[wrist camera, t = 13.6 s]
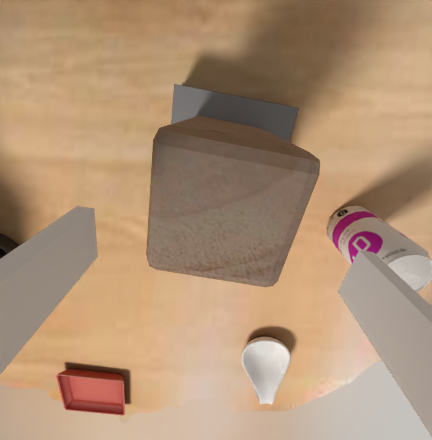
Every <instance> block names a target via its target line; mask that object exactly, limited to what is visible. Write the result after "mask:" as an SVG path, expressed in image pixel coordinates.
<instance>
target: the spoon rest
mask: <svg viewBox="0 0 432 440" xmlns="http://www.w3.org/2000/svg"><path fill="white" fill-rule="evenodd" d="M241 360H242V364H243V367H244V369H245V371H246V373H247V375H248V377H249V378H250V380H251V382H252V384H253V385H254V387H255V392H256V396H257V399H258V401H259V403H260V404H263V403H269V404H272V403H273V401H274V398H275V394H276V392H277V389H278V387H279V385H280V383H281V381H282V379H283V377H284V375H285V373H286V371H287V368H288V366H289V363H290V352H289V350H288V348H287V347H286V346H285V345H284V344H283V343H282V342H280V341H279V340H277V339H275V338H271V337H258V338H255V339H253V340H251V341H250V342H248V343H247V345H246V346H245V347H244V349H243V351H242V355H241Z"/></svg>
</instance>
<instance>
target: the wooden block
mask: <svg viewBox="0 0 432 440" xmlns="http://www.w3.org/2000/svg"><path fill="white" fill-rule="evenodd" d="M319 170H320V161H319V159H318V158H316V157H315V156H314V155H312V154H311V153H310V152H308V151H306V150H304V149H302V148H300V147H298V146H296V145H294V144H292V143H290V142H288V141H286V140H284V139H282V138H280V137H278V136H276V135H274V134H272V133H270V132H268V131H266V130H264V129H262V128H258V127H253V126H248V125H243V124H238V123H233V122H228V121H223V120H218V119H213V118H209V117H204V116H197V117H193V118H190V119H187V120H183V121H180V122H177V123H174V124H171V125H167V126H164V127H161V128H159V130H158V132H157V134H156V136H155V138H154V140H153V153H152V169H151V186H150V202H149V218H148V235H147V251H146V254H147V260H148V263H149V266H151V267H153V268H155V269H157V270H162V271H168V272H174V273H181V274H187V275H193V276H199V277H205V278H212V279H218V280H224V281H230V282H236V283H242V284H249V285H255V286H261V287H269V286H273V285H274V284H275V283H276V282H277V281H278V279H279V276H280V274H281V271H282V268H283V266H284V263H285V261H286V258H287V256H288V253H289V251H290V248H291V245H292V243H293V240H294V238H295V235H296V233H297V230H298V228H299V225H300V222H301V220H302V217H303V215H304V212H305V210H306V207H307V204H308V202H309V199H310V197H311V194H312V192H313V189H314V187H315V184H316V181H317V179H318V176H319Z"/></svg>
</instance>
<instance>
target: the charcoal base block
mask: <svg viewBox="0 0 432 440" xmlns="http://www.w3.org/2000/svg"><path fill="white" fill-rule="evenodd" d="M298 110H299V108H296V107H291V106H286V105H281V104H275V103H270V102H265V101H260V100H255V99H249V98H244V97H239V96H234V95H229V94H223V93H218V92H213V91H208V90H203V89H198V88H192V87H187V86H182V85H177V84H174V94H173V107H172V120H171V124H174V123H177V122H180V121H183V120H187V119H190V118H193V117H197V116H204V117H209V118H213V119H218V120H223V121H228V122H233V123H238V124H243V125H248V126H253V127H258V128H262V129H264V130H266V131H268V132H270V133H272V134H274V135H276V136H278V137H280V138H282V139H284V140H286V141H288V142H289V140H290V137H291V133H292V130H293V127H294V123H295V120H296V116H297V113H298Z"/></svg>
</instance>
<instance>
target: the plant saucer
mask: <svg viewBox="0 0 432 440" xmlns="http://www.w3.org/2000/svg"><path fill="white" fill-rule="evenodd" d="M56 377H57V381H58V385H59V389H60V393H61V397H62V401H63V405H64V408H65V409H66V410H73V411H82V412H93V413H103V414H114V415H125V399H124V380H123V377H122V375H121V374H116V373H107V372H98V371H89V370H80V369H68V370H66V371H63V372H61V373H59V374H57V376H56Z"/></svg>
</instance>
